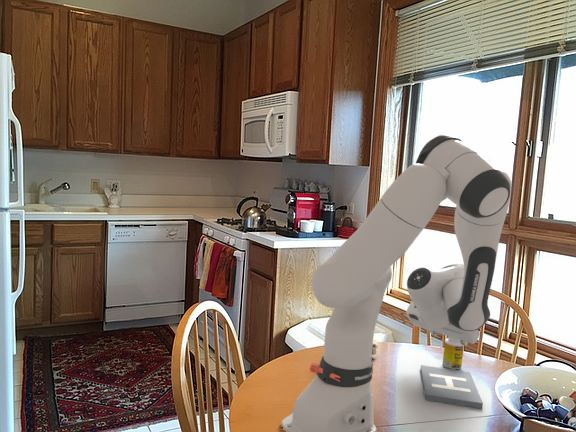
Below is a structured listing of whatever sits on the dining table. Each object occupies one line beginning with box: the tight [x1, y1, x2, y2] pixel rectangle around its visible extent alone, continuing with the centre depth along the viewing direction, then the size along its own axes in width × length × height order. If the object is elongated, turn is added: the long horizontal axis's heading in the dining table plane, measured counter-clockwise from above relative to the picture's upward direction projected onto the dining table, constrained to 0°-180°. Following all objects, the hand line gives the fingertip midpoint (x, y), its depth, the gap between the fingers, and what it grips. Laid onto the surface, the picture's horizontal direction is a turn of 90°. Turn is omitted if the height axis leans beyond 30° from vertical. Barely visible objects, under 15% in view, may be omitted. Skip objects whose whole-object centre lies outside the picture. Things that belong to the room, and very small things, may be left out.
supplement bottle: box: [442, 336, 465, 370], centre depth 149 cm, size 6×6×10 cm
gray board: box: [419, 364, 484, 410], centre depth 134 cm, size 20×14×2 cm
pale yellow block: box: [372, 339, 379, 356], centre depth 153 cm, size 10×9×6 cm
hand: (450, 338), depth 145 cm, fingers open, 8 cm apart
